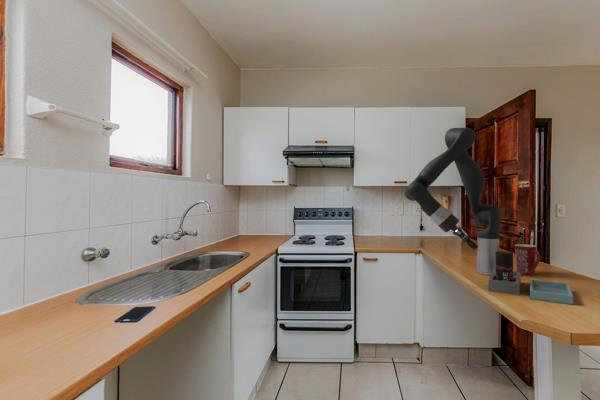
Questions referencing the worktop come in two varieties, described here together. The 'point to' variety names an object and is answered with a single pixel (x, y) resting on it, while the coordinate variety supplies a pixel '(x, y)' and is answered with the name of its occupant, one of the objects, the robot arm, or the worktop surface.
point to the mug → (526, 258)
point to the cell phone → (135, 314)
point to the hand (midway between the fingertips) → (474, 247)
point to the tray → (551, 292)
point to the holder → (505, 284)
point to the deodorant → (504, 266)
